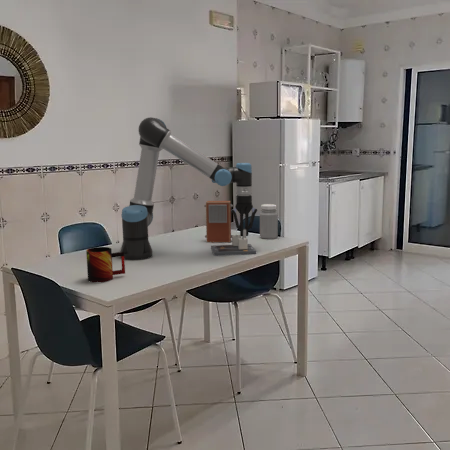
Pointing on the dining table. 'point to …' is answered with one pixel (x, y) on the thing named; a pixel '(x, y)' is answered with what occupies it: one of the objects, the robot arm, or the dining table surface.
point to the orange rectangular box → (218, 221)
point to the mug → (102, 264)
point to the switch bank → (231, 250)
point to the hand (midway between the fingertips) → (244, 242)
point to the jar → (268, 221)
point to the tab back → (235, 239)
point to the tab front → (242, 243)
